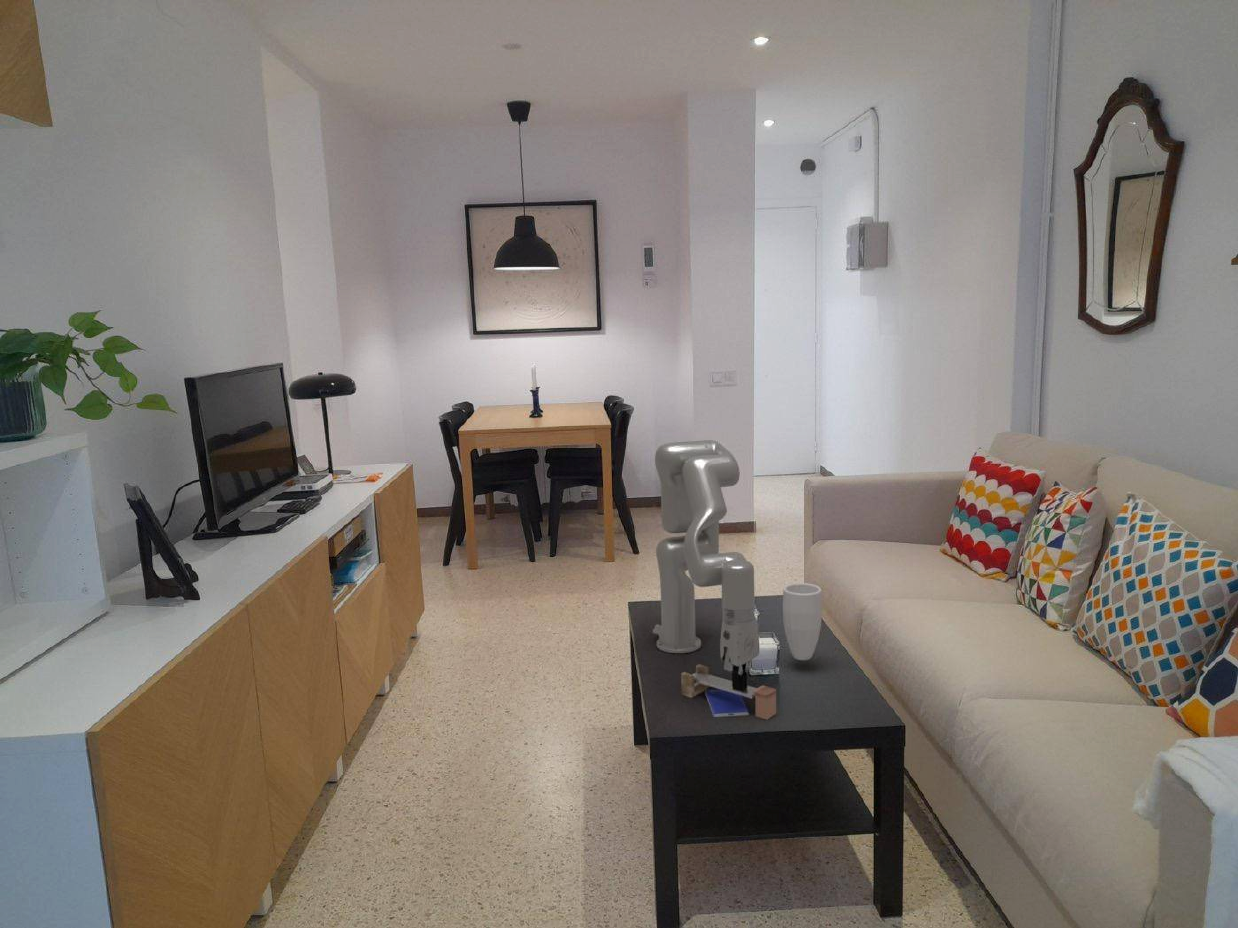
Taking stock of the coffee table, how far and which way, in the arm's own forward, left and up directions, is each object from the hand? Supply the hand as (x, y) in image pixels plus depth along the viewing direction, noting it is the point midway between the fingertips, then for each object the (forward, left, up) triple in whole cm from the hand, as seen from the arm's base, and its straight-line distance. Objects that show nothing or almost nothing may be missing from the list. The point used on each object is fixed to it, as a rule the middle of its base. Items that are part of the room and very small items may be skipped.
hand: (739, 687), depth 197 cm
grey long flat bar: (-5, 0, -1) cm, 5 cm away
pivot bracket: (-13, 0, -5) cm, 14 cm away
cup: (0, +29, -5) cm, 30 cm away
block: (+7, 0, -5) cm, 8 cm away
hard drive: (-3, -1, -6) cm, 7 cm away
